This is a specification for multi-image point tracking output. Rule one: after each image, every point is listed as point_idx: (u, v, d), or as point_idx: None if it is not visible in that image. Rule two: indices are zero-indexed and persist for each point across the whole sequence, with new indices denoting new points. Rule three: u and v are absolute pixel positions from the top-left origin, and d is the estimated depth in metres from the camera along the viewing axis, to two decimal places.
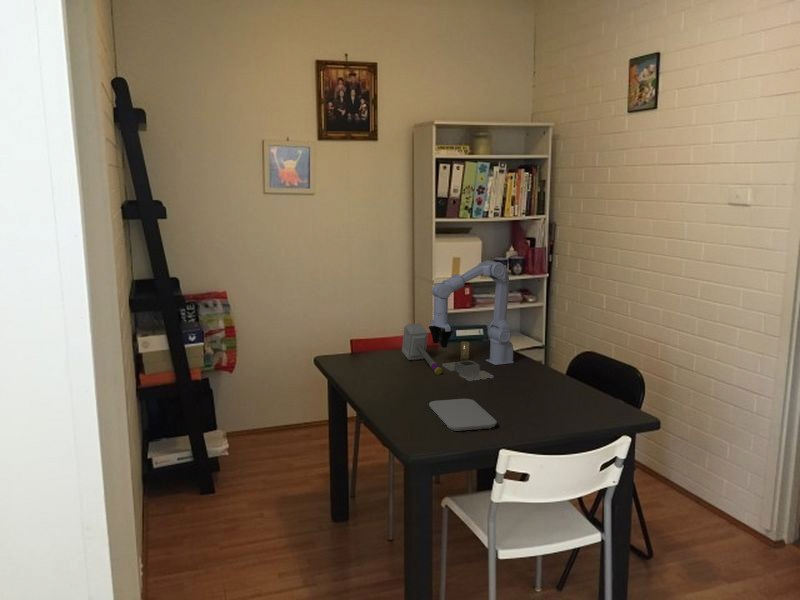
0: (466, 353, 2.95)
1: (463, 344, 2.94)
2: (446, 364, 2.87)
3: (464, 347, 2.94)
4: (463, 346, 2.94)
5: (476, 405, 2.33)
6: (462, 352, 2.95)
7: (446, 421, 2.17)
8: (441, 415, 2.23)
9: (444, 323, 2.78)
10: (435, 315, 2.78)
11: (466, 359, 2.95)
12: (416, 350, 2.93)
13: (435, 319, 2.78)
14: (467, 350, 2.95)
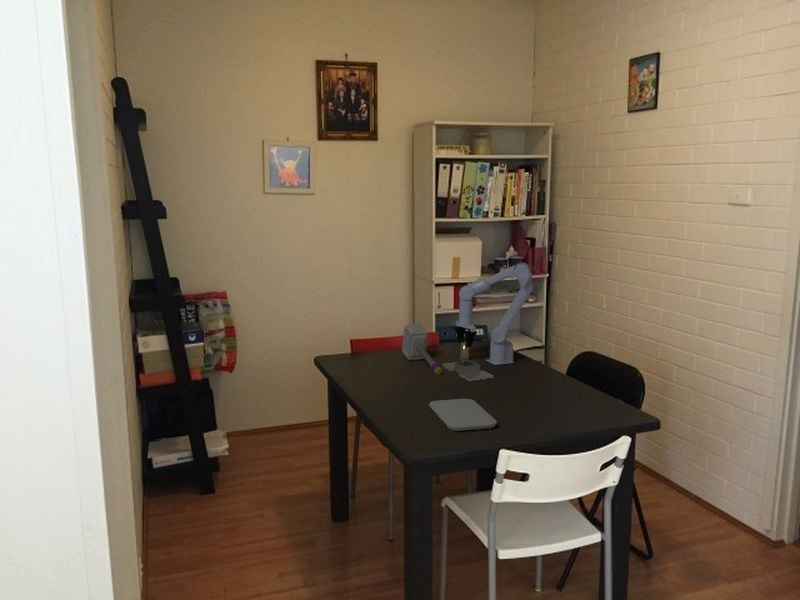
0: (466, 353, 2.95)
1: (463, 344, 2.94)
2: (446, 364, 2.87)
3: (464, 347, 2.94)
4: (463, 346, 2.94)
5: (476, 405, 2.33)
6: (462, 352, 2.95)
7: (446, 421, 2.17)
8: (441, 415, 2.23)
9: (469, 324, 2.92)
10: (460, 316, 2.92)
11: (466, 359, 2.95)
12: (416, 350, 2.93)
13: (460, 320, 2.92)
14: (467, 350, 2.95)
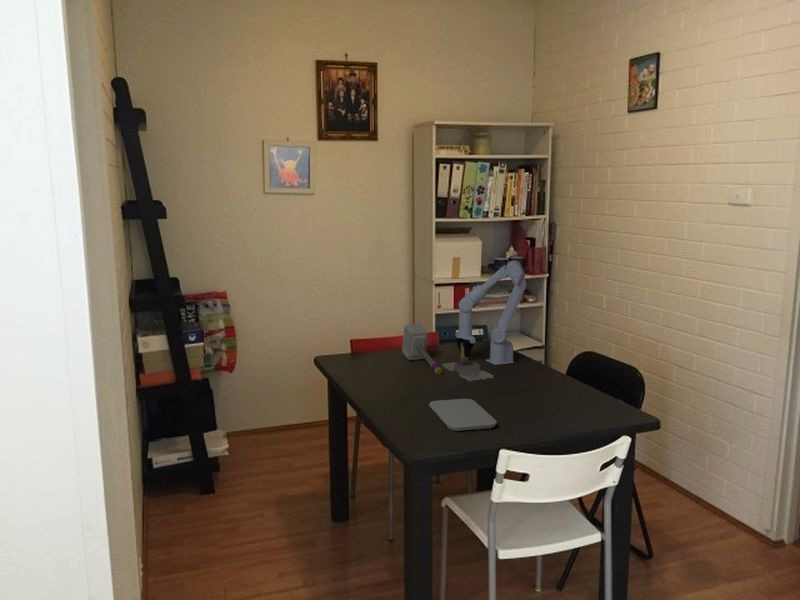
0: None
1: None
2: (446, 364, 2.87)
3: None
4: None
5: (476, 405, 2.33)
6: (462, 352, 2.95)
7: (446, 421, 2.17)
8: (441, 415, 2.23)
9: (469, 335, 2.93)
10: (460, 327, 2.93)
11: (466, 359, 2.95)
12: (416, 350, 2.93)
13: (460, 331, 2.93)
14: None
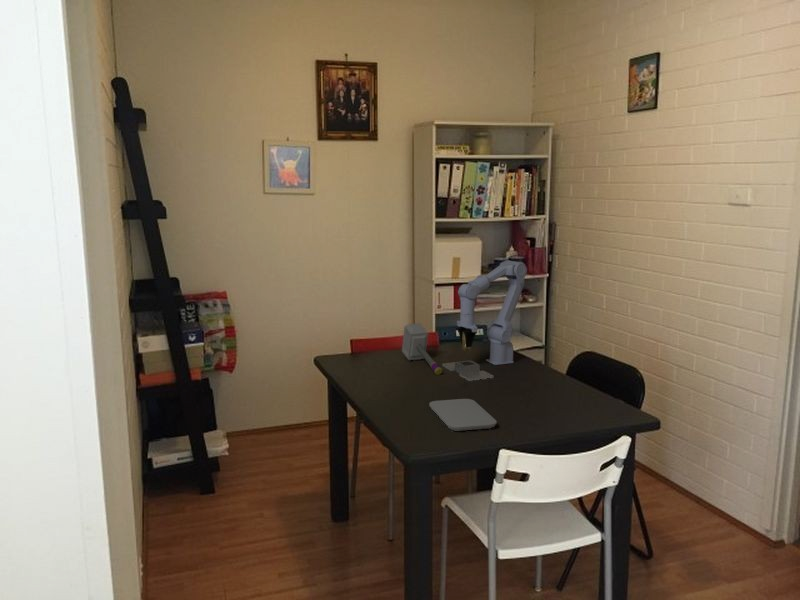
0: None
1: None
2: (446, 364, 2.87)
3: None
4: None
5: (476, 405, 2.33)
6: (464, 342, 2.82)
7: (446, 421, 2.17)
8: (441, 415, 2.23)
9: (471, 324, 2.80)
10: (462, 316, 2.80)
11: (468, 349, 2.82)
12: (416, 350, 2.93)
13: (462, 320, 2.80)
14: None
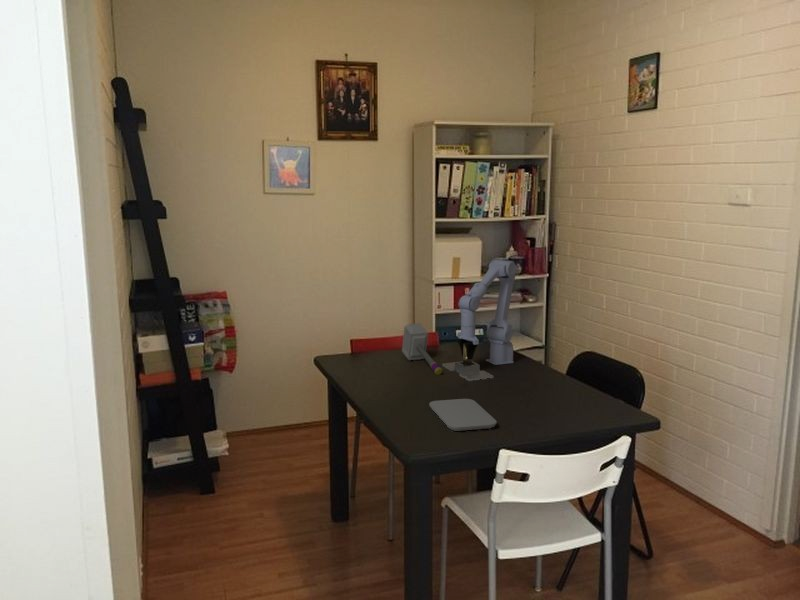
0: None
1: None
2: (446, 364, 2.87)
3: None
4: None
5: (476, 405, 2.33)
6: (465, 354, 2.77)
7: (446, 421, 2.17)
8: (441, 415, 2.23)
9: (472, 336, 2.74)
10: (463, 328, 2.75)
11: (469, 361, 2.77)
12: (416, 350, 2.93)
13: (463, 332, 2.75)
14: None
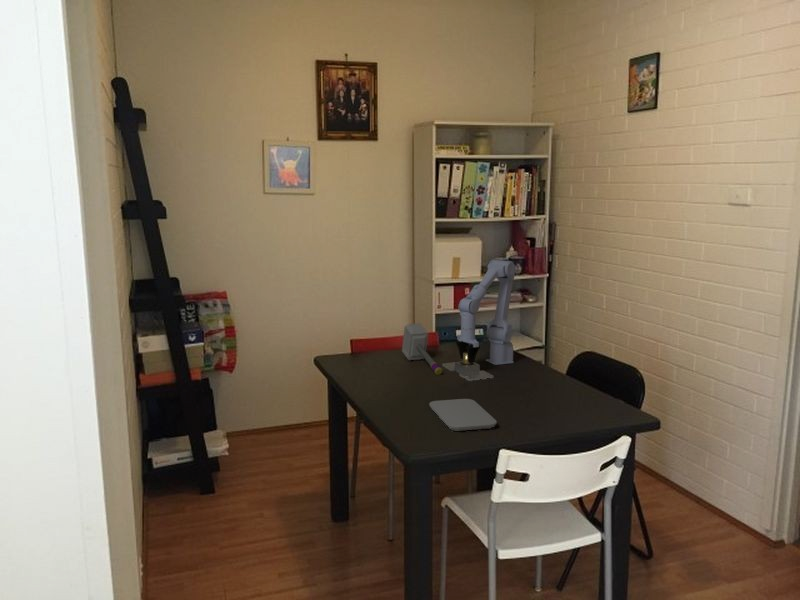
0: (469, 364, 2.77)
1: (466, 355, 2.77)
2: (446, 364, 2.87)
3: (467, 358, 2.77)
4: (466, 357, 2.77)
5: (476, 405, 2.33)
6: (465, 363, 2.77)
7: (446, 421, 2.17)
8: (441, 415, 2.23)
9: (472, 338, 2.75)
10: (463, 330, 2.75)
11: None
12: (416, 350, 2.93)
13: (463, 334, 2.75)
14: None
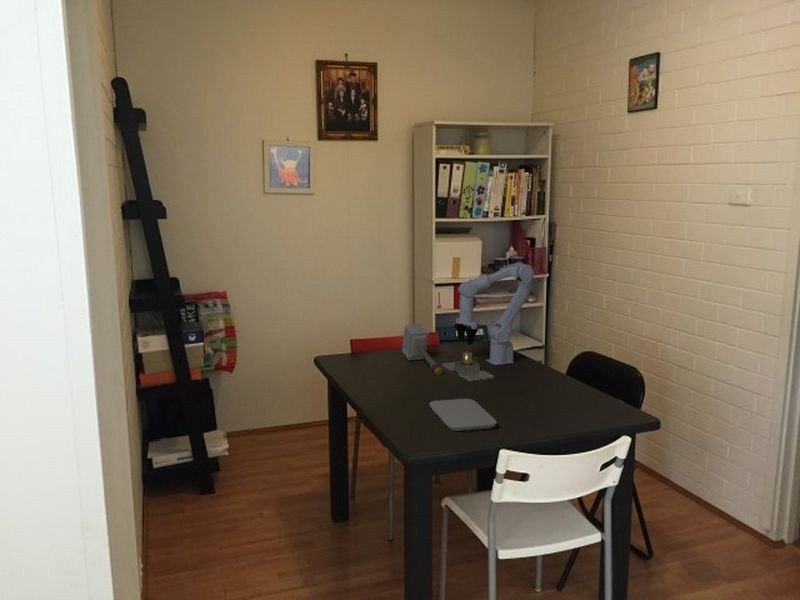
0: (469, 364, 2.77)
1: (466, 355, 2.77)
2: (446, 364, 2.87)
3: (467, 358, 2.77)
4: (466, 357, 2.77)
5: (476, 405, 2.33)
6: (465, 363, 2.77)
7: (446, 421, 2.17)
8: (441, 415, 2.23)
9: (470, 321, 2.86)
10: (461, 313, 2.86)
11: None
12: (416, 350, 2.93)
13: (461, 317, 2.86)
14: (470, 360, 2.77)
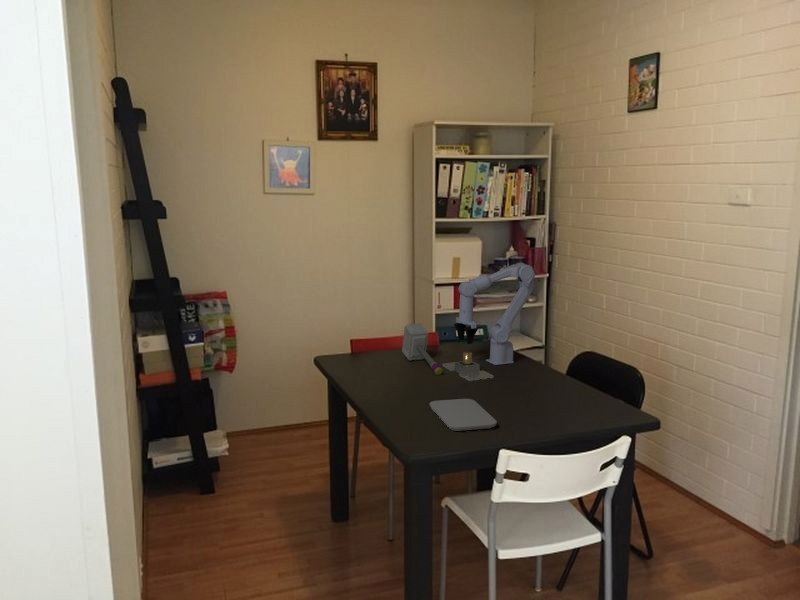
0: (469, 364, 2.77)
1: (466, 355, 2.77)
2: (446, 364, 2.87)
3: (467, 358, 2.77)
4: (466, 357, 2.77)
5: (477, 405, 2.33)
6: (465, 363, 2.77)
7: (446, 421, 2.17)
8: (441, 415, 2.23)
9: (470, 320, 2.87)
10: (461, 312, 2.87)
11: None
12: (416, 350, 2.93)
13: (461, 316, 2.87)
14: (470, 360, 2.77)
